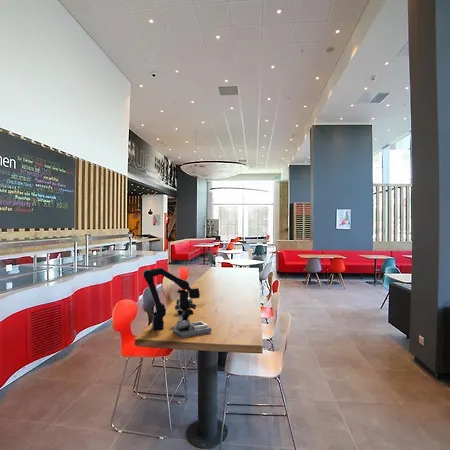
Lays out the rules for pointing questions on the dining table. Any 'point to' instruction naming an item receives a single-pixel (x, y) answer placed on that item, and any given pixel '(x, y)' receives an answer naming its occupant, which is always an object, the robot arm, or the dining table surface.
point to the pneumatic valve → (179, 302)
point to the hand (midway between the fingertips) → (183, 322)
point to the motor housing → (190, 328)
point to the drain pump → (182, 318)
